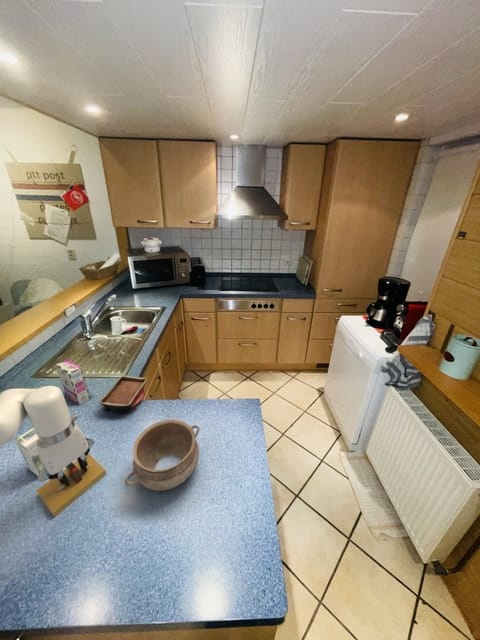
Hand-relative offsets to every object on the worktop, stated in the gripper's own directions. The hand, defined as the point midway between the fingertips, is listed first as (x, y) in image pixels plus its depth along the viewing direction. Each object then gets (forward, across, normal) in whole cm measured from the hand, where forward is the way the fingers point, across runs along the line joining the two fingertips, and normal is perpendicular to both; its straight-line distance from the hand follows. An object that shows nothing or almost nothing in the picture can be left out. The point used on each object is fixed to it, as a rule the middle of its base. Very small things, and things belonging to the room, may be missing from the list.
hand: (75, 475), depth 72 cm
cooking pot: (+4, -18, +19) cm, 26 cm away
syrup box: (+4, +3, -13) cm, 14 cm away
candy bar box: (+4, -18, -37) cm, 41 cm away
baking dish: (+4, -28, -18) cm, 33 cm away
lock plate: (+4, +1, 0) cm, 4 cm away
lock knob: (+1, 0, 0) cm, 1 cm away
